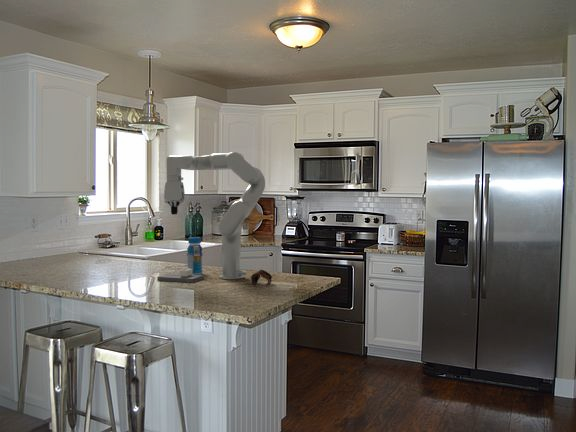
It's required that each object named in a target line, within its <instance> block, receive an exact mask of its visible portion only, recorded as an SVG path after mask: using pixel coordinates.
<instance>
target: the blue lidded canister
mask: <svg viewBox="0 0 576 432" xmlns="http://www.w3.org/2000/svg"><path fill="white" fill-rule="evenodd" d="M187 241H188V244H189V245H188V247H187V249H186V251H187V253H186V257H187V259H186V260H187V268H190V269H192V274H195V275H203V256H204V254H203V247H202V246H201V244H202V238H201V236H191V237H188V240H187Z"/></svg>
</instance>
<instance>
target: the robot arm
mask: <svg viewBox="0 0 576 432" xmlns="http://www.w3.org/2000/svg"><path fill="white" fill-rule="evenodd" d="M182 170H186V171H207V170H208V171H220V170H221V171H223V170H231V171H232V172H233V173H234V174H236V176H238V177H239V178H240V179H241V180H242V181H243V182H244V183H246V184H248V185H247V186H248V187H247V188H246V189H245V190H244V192H243V193H242V195H241V196H240V198H239V199H238V200H236V201H234V202H233V203H232V204H231V205H230V206H229V207H228V209H227V210H226V212H225V214H224V215H223V216H222V218H221V220H220V221H219V223H218V233H219V234H220V235H221V236H222V240H221V241H222V243H221V244H222V245H221V247H222V248H221V249H222V250H221V251H222V253H221V254H222V256H221V257H222V258H221V260H222V261H221V262H222V265H221V266H222V268H221V273H222V274H220V275H219V278H220V279H223V280H238V279H239V280H240V279H243V278H244V276H248V273H249V272H248V271H246V270H243V268H241V266H242V265H241V247H242V246H241V245H242V244H241V240H242V239H241V236H242V223H243V222H244V220H245V219H246V218H248V217H249V216H250V214H251V213H252V211H253V210H254V208H255V207H256V205H257V204H258V201H259V200H260V199H261V196H262V195H263V193H264V192H265V188H266V179H265V177H264V173H263V172H262V171H261V170H260V169H259V168H257V167H255V166H254V167H253V165H251V164H250V163H249V162H248V161H247V160H246V159H245V157H244V156H243V154H241V153H239V152H236V151H231V152H226V153H225V152H224V153H223V152H222V153H218V152H217V153H211V154H208V155H200V156H199V155H187V154H183V155H168V156H167V157H166V182H165V184H164V193H163V194H164V195H163V197H164V199H163V200H164V203H165V204H168V205H169V207H170V213H171V215H177V214H178V212H179V211H178V208H179V205H181V204H184V203H185V200H186V199H185V198H186V195H185V194H186V193H185V187H184V183H183V180H184V177H183V176H182Z"/></svg>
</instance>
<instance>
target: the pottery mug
mask: <svg viewBox="0 0 576 432" xmlns="http://www.w3.org/2000/svg"><path fill="white" fill-rule="evenodd" d="M261 278H263V279H265V280H267V283H266V285H267V286H270V285H271V283H272V278H273V275H272V274H270V272H267V271H266V270H264V269H259V271H256V272H255V273H253V274H252V275H251V276H250V280H251V283H250V285H252V286H253V285H257V284H258V281H259V280H260V279H261Z"/></svg>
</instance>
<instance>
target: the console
mask: <svg viewBox="0 0 576 432" xmlns="http://www.w3.org/2000/svg"><path fill="white" fill-rule="evenodd" d="M204 279H205V275H204V274H198V275H195V274H192V275H190V276H187V277H185V276H180V273H174V272H173V273H172V272H169V273H164V274H162V275H159V276H157V281H158V282H171V283H172V282H173V283H174V282H176V283H189V284H190V283H191V284H193V283H197V282H199V281H201V280H204Z"/></svg>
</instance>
